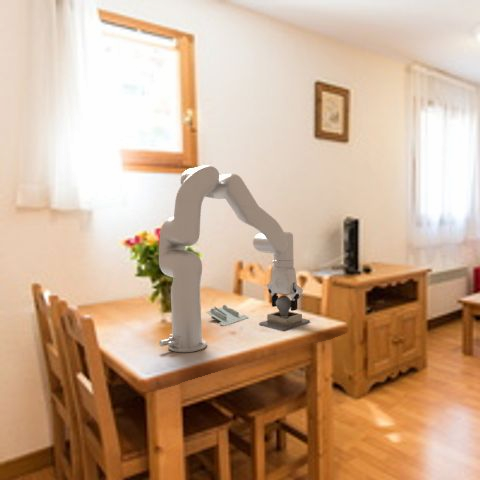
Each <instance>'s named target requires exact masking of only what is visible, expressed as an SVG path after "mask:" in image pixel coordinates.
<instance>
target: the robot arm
mask: <svg viewBox="0 0 480 480" xmlns="http://www.w3.org/2000/svg"><path fill="white" fill-rule="evenodd" d="M205 198H209V199H210V198H211V199H218V200H221V199H223V200H224V199H225V200H226V202H227V203H228V205H229V206H230V208H231V209H232V210H233V212H234V214H235V216H236V217H237V218H238V220H239V221H241V222H242V223H244V224H246V225H248V226H251V227H252V228H254V229H256V230H257V231H259V232H260V233H257V234H256V235H255V236H254V237H253V239H252V245H253V247H254V249H255V250H256V251H258V252H261V253H266V254H267V253H269V254H273V260H272V264H273V266H272V269H271V274H270V282H269V283H267V284H266V287H267V290H268V293H269V294H270V295H269V296H270V297H271V307H272V308H275V307H277V306H276V301H277V299H278V298H279V295H282V296H289V298H290V300H291V307H290V312H294V311H298V300H299V299H300V297H301V296H302V294H303V289H304V288H302V287H300V286H299V285H298V282H297V281H298V280H297V273H296V268H295V267H294V263H295V262H294V234H293V233H292V232H290V231H284V230H283V228H282V227H281V225H280V223H279V222H278V221H277V220H276V219H275V218H274V217H272V215H270V214H269V213H268V212H267V211H266V210H264V209H263V208H262V207H260V205H259V204H258V203H257V201H256V200H255V197H253V195H252V193H251V192H250V190H249V188H248V186H247V185H246V184H245V181H244V180H243V178H242V177H241V176H240V175H239V174H235V173H227V174H226V173H225V174H220V173H219V170H218V169H217V168H216V167H215V166H212V165H201V166H197V167H194V168H193V167H192V168H188V169H187V170H185V171H184V172H183V173H182V174H181V177H180V187H179V189H178V190H177V193H176V197H175V201H174V202H175V203H174V209H173V216H172V217H169V218H168V219H166V220H165V221H164V222H163V224H162V225H161V227H160V232H159V247H158V266H159V269H160V271H161V272H162V273H163V274H164V275H165V276H168V277H170V278H173V279H172V281H171V282H172V283H171V289H170V303H171V306H170V307H171V331H172V332H171V333H170V334H169V336H168V337H167V338H166V339H161V340H159V343H158V344H159V346H160V348H161V347H165V346H167V348H168V350H170V351H172V352H176V353H192V352H197V351H200V350H203V349H205V348H206V347H207V344H208V342H207V340H205V338H203V337H202V307H201V306H202V304H201V300H202V299H201V281H202V273H203V263H202V260H201V258H200V257H199V255H197V254H196V253H195V252H193V251H191V250H186V247H191V246H194V245H196V244H197V243H198V242H199V238H200V235H201V233H200V231H201V215H202V214H201V212H202V205H203V201H204V199H205Z"/></svg>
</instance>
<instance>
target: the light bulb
mask: <svg viewBox="0 0 480 480" xmlns="http://www.w3.org/2000/svg"><path fill="white" fill-rule="evenodd" d="M291 300H292V299H291V298H290V297H288V295H281V296H278V299H277V301H276V306H275V307H276V308H277V310H278V311H279V312H280V315H281V317H284V318H287V317H288V312H289V311H290V310H291Z"/></svg>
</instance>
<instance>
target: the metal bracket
mask: <svg viewBox="0 0 480 480" xmlns="http://www.w3.org/2000/svg"><path fill="white" fill-rule="evenodd" d="M206 314H208V315H210V316H211V318H210V319H213V318H214V319H216V320H218V321H220V322H218V324H219V325H220V326H222V327H227V326H230V325H232V324H235V323H239V322H241V321H245V320H248V319H249V316H247V315H245V314H239V312H238V311H237V310H235V309H233V308H230V307H228V306H227V305H226V304H223V305H222V307H216V306H214V307H211V309H210V310H208V311H206Z"/></svg>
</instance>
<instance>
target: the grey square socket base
mask: <svg viewBox="0 0 480 480" xmlns="http://www.w3.org/2000/svg"><path fill="white" fill-rule="evenodd" d="M266 317H267V318H266V319H267V320H264V321H261V322H259V323H258V325H259V326H262V327H265V328H271V329H274V330H277V331H281V332H284V331H287V330H290V329H294V328H297V327H299V326H302V325H305V324H309V323H310V322H311V320H310V319H306V318H303V314H302V313H299V312H294V311H291V310H289V312H288V317H287V318H284V317H281V315H280V312H279V310H278V311H276V312H275V311H274V312H273V313H272V312H271V313H268V314H267V316H266Z"/></svg>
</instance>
